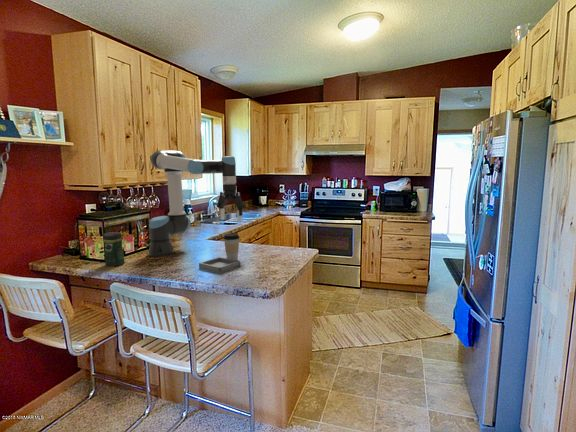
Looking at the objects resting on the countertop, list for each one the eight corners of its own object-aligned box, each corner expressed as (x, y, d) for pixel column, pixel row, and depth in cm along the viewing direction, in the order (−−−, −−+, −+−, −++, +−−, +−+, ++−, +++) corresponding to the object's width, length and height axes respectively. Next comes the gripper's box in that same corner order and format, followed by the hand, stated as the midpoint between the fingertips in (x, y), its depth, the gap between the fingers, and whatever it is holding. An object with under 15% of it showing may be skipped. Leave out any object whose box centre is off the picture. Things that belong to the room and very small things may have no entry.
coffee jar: (127, 263, 198) (124, 231, 195) (116, 267, 191) (113, 234, 188) (113, 261, 201) (110, 230, 198) (102, 265, 193) (99, 233, 191)
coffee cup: (237, 262, 197) (236, 236, 195) (221, 261, 199) (220, 236, 197) (242, 258, 206) (241, 233, 204) (227, 257, 208) (226, 232, 206)
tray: (199, 268, 186) (198, 263, 186) (219, 261, 198) (219, 256, 198) (220, 273, 177) (219, 267, 177) (240, 266, 189) (239, 261, 189)
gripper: (209, 183, 200) (211, 219, 203) (241, 184, 186) (242, 223, 189) (218, 183, 206) (220, 218, 209) (250, 183, 192) (251, 221, 195)
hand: (231, 220), depth 199 cm, fingers open, 13 cm apart
